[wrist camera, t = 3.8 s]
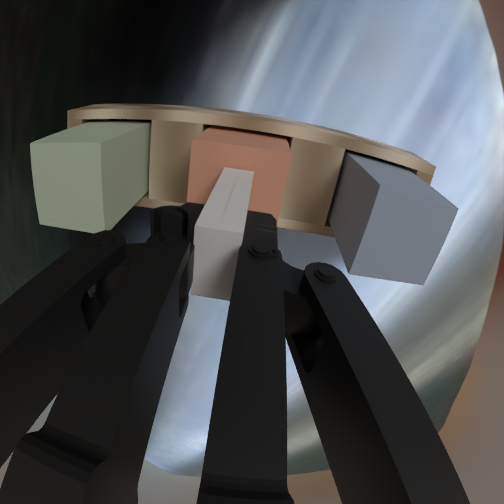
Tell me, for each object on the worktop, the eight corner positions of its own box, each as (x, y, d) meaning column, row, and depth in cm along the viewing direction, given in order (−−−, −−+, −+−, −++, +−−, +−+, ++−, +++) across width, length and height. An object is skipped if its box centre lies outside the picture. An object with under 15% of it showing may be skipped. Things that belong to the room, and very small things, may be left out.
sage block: (93, 183, 20) (39, 224, 14) (92, 120, 17) (30, 143, 12) (150, 189, 20) (105, 235, 14) (152, 122, 18) (101, 143, 12)
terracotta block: (208, 186, 22) (185, 227, 16) (215, 122, 20) (192, 139, 14) (272, 196, 22) (273, 241, 17) (284, 133, 20) (291, 154, 14)
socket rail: (95, 181, 23) (71, 198, 20) (95, 104, 19) (67, 110, 16) (388, 226, 24) (404, 250, 21) (412, 152, 20) (435, 166, 17)
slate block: (327, 216, 21) (348, 274, 15) (344, 150, 18) (380, 184, 12) (386, 229, 21) (423, 285, 15) (407, 168, 18) (458, 208, 12)
